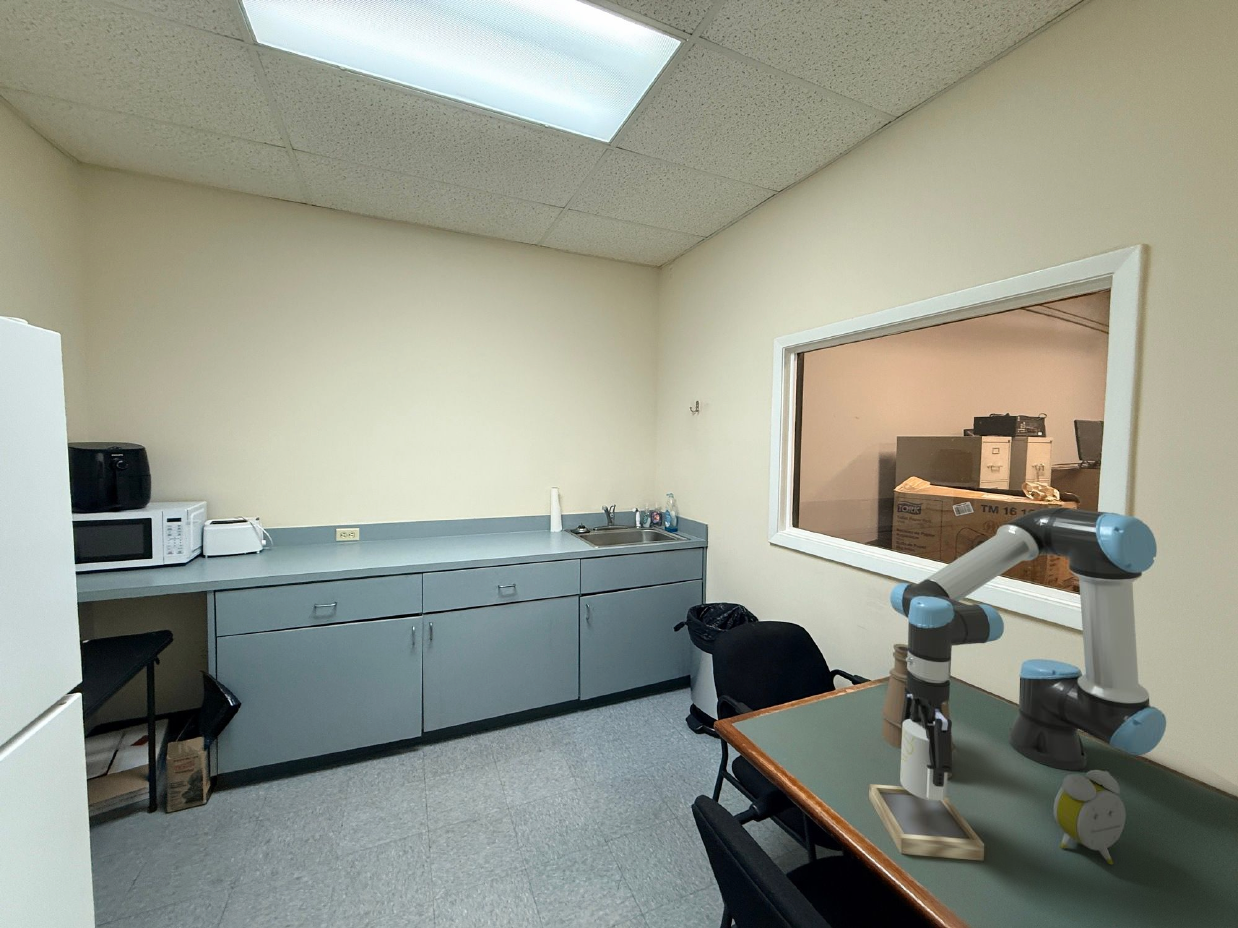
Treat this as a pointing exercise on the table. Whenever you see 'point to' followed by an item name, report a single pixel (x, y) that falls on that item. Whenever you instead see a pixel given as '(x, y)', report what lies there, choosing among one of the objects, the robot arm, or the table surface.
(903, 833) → the square picture frame
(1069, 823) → the alarm clock
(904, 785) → the white cylinder
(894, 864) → the table surface
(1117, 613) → the robot arm
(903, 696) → the binoculars
